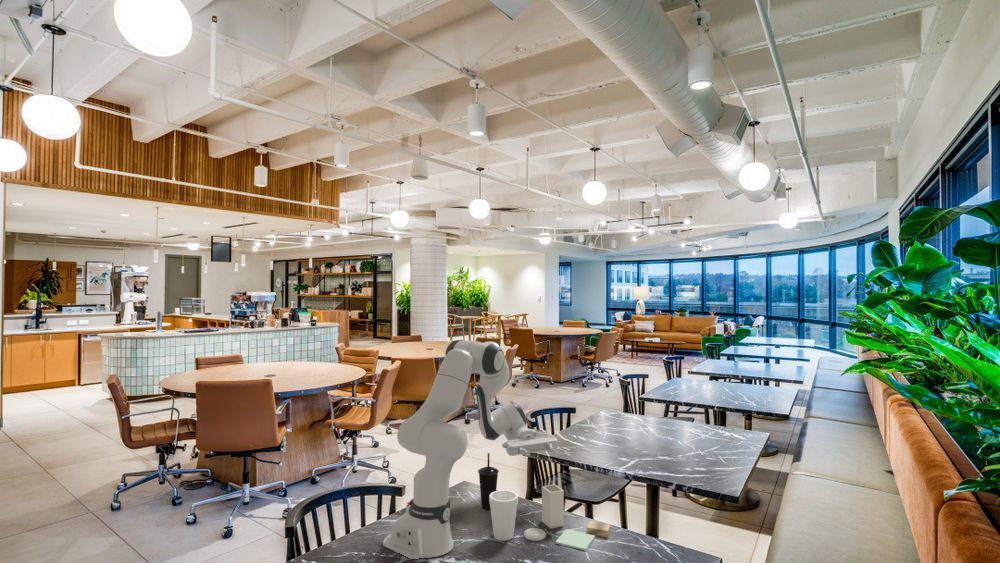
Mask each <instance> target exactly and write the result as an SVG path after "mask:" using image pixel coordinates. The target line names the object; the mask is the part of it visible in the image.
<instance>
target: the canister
mask: <svg viewBox="0 0 1000 563" xmlns="http://www.w3.org/2000/svg"><path fill="white" fill-rule="evenodd" d="M564 495H565V491H564V489H562V488H561V487H560V486H558V485H557V484H550V485H544V486H541V522H542V523H543V524H545V525H546V526H547V527H548V528H549V529H555V528H561V527H563V526H564V525H565V524H564V522H565V521H564V520H565V519H564V517H565V516H564V511H565V510H564V508H565V506H564V500H565V499H564ZM564 527H565V526H564Z"/></svg>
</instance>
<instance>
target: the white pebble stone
mask: <svg viewBox="0 0 1000 563" xmlns="http://www.w3.org/2000/svg"><path fill="white" fill-rule="evenodd" d="M523 537H524V538H525V539H526V540H529V541H534V542H539V541H542V540H544V539H545V538H546V531H545V530H544V529H541V528H537V527H532V528H527V529H526V530H524V532H523Z"/></svg>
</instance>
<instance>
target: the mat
mask: <svg viewBox="0 0 1000 563" xmlns="http://www.w3.org/2000/svg"><path fill="white" fill-rule="evenodd" d="M595 538H596V535H591V534H587V532H586V533H585V532H581V531H577V530H573V529H569V528H566V529H564V531H563V532H562V533H561V534H560V536H559V537H558V538H557V539H556V541H555V544H556V545H560V546H563V547H568V548H572V549H576V550H580V551H584V552H586V551H587V550H588V549H589V547H590V546H591V544H592V543H593V541H594V540H595Z"/></svg>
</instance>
